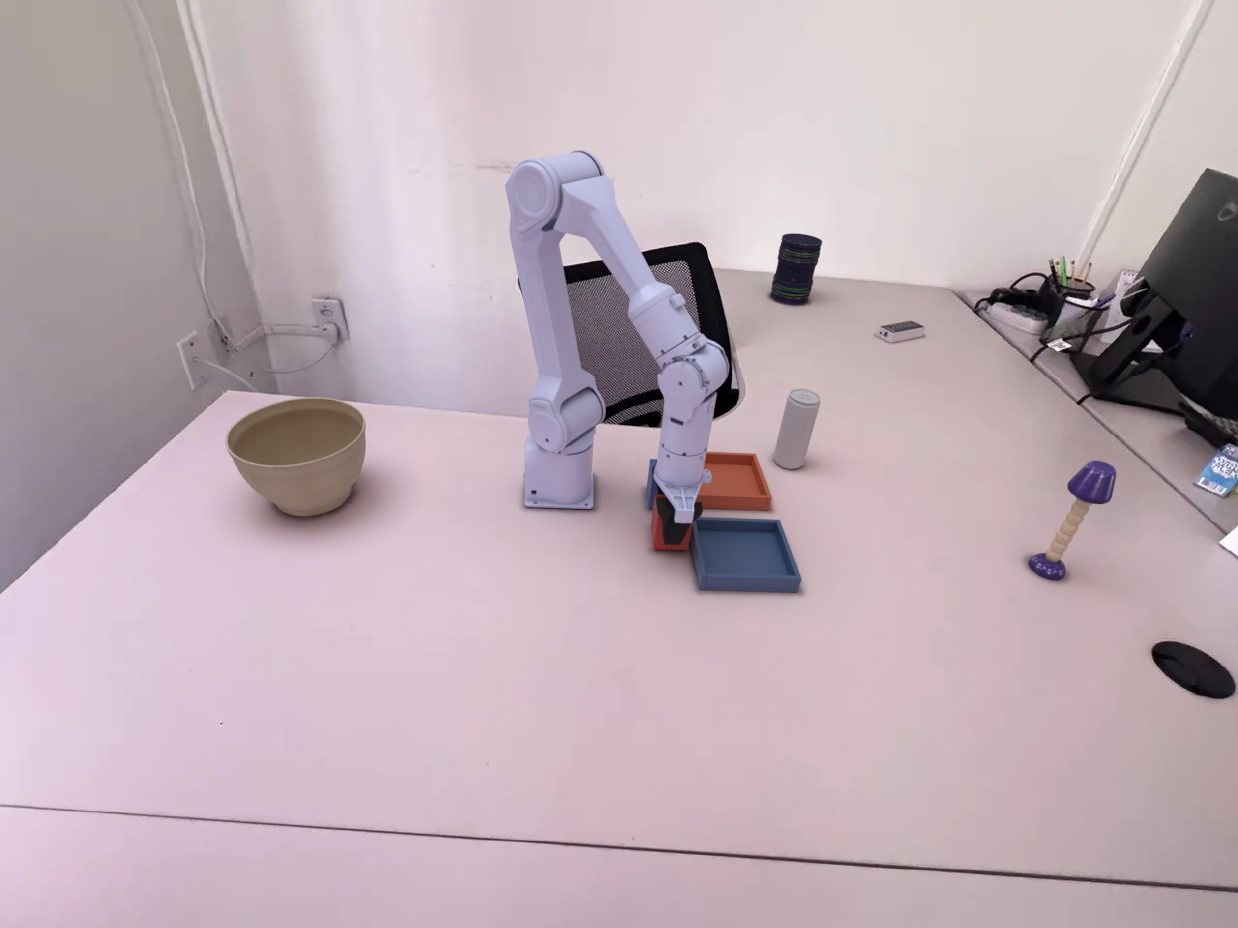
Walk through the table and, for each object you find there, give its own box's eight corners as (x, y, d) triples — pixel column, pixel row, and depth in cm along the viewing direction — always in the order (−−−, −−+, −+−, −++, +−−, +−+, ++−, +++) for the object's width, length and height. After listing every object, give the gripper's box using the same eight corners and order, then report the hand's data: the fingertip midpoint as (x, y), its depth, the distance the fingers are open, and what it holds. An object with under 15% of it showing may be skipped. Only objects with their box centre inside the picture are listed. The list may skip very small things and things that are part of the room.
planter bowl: (227, 493, 88) (203, 424, 82) (340, 449, 98) (327, 385, 92) (281, 553, 79) (259, 481, 73) (399, 498, 89) (389, 431, 83)
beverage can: (803, 472, 101) (822, 405, 95) (772, 467, 102) (788, 400, 95) (802, 456, 105) (820, 390, 99) (772, 451, 106) (788, 385, 99)
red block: (653, 549, 84) (657, 516, 81) (650, 526, 87) (654, 494, 84) (687, 550, 84) (693, 517, 81) (683, 527, 88) (689, 495, 85)
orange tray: (684, 507, 92) (686, 494, 91) (676, 462, 101) (677, 450, 100) (768, 510, 93) (772, 497, 92) (753, 465, 102) (755, 453, 101)
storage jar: (769, 302, 163) (782, 242, 154) (768, 289, 171) (780, 231, 163) (810, 307, 162) (824, 247, 154) (807, 294, 170) (821, 236, 162)
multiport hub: (923, 336, 152) (926, 327, 150) (890, 343, 147) (893, 333, 146) (908, 329, 155) (911, 320, 153) (875, 335, 150) (878, 326, 149)
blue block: (648, 509, 91) (652, 477, 88) (646, 489, 95) (649, 458, 92) (680, 510, 92) (685, 478, 89) (676, 490, 95) (681, 459, 92)
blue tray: (699, 589, 79) (701, 576, 78) (688, 529, 88) (690, 516, 87) (797, 592, 80) (801, 578, 79) (776, 532, 89) (780, 519, 88)
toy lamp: (1048, 585, 84) (1112, 481, 75) (1016, 562, 87) (1073, 459, 78) (1070, 574, 86) (1135, 472, 77) (1038, 552, 89) (1096, 451, 80)
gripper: (727, 480, 71) (708, 570, 79) (708, 413, 83) (693, 497, 91) (663, 477, 71) (650, 568, 79) (653, 410, 83) (643, 495, 91)
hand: (670, 530), depth 85 cm, fingers closed on red block, 4 cm apart
